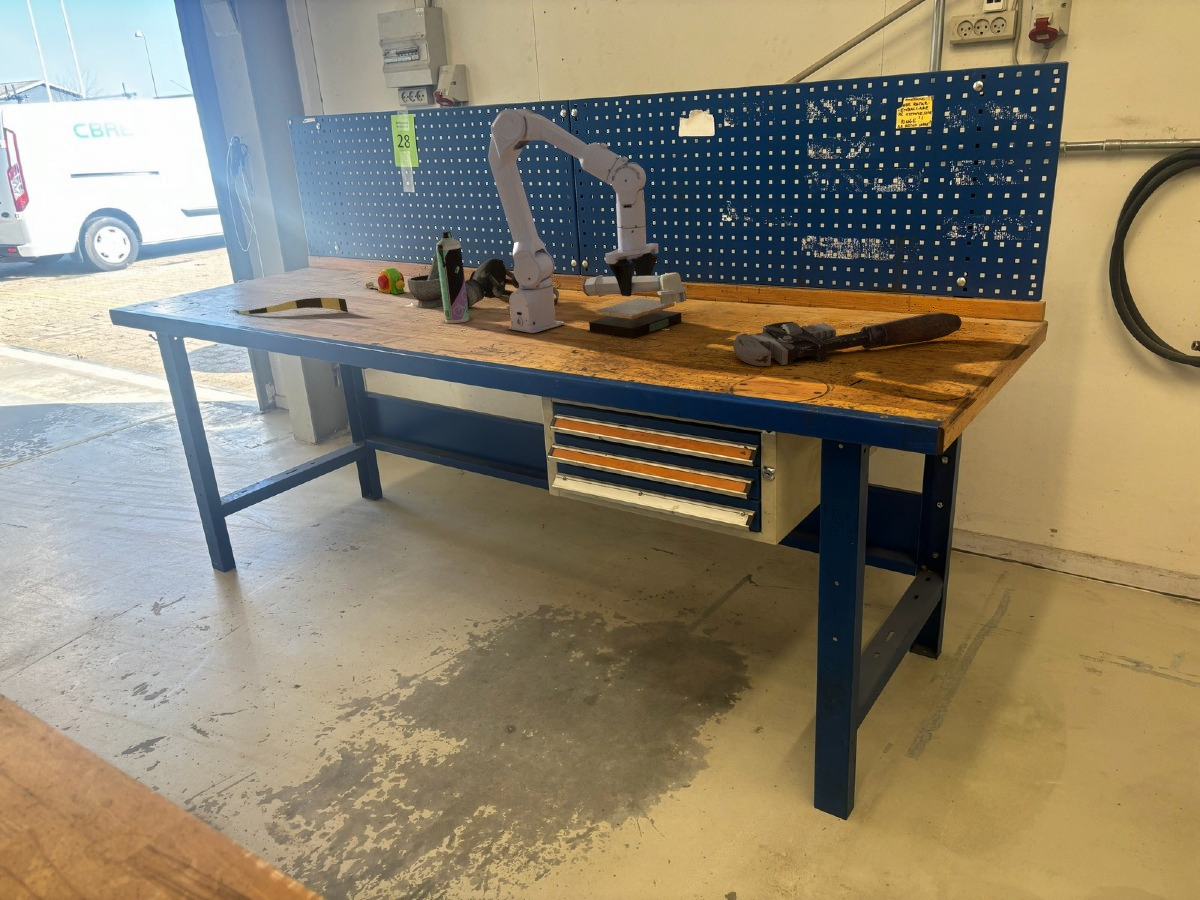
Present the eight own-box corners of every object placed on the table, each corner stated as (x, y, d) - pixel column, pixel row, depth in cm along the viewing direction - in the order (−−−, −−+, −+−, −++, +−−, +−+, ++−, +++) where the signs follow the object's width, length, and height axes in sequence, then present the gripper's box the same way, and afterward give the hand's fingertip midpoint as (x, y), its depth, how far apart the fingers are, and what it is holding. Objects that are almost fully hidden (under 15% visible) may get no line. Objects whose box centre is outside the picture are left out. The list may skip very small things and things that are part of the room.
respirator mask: (481, 282, 224) (509, 237, 216) (543, 335, 223) (573, 291, 215) (442, 297, 206) (471, 249, 199) (508, 355, 205) (540, 308, 198)
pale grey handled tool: (594, 275, 186) (689, 265, 169) (599, 305, 187) (693, 298, 171) (578, 279, 182) (674, 269, 166) (584, 310, 184) (678, 303, 168)
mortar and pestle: (431, 310, 208) (424, 260, 204) (403, 308, 213) (396, 259, 209) (461, 301, 217) (455, 253, 213) (433, 299, 222) (427, 252, 218)
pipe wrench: (752, 379, 145) (753, 351, 142) (721, 352, 156) (721, 326, 153) (967, 340, 154) (972, 314, 152) (924, 318, 165) (927, 293, 163)
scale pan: (632, 323, 171) (631, 315, 170) (595, 318, 177) (595, 310, 176) (674, 309, 180) (674, 302, 180) (638, 305, 186) (638, 298, 186)
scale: (635, 338, 170) (634, 328, 169) (589, 331, 178) (588, 322, 177) (683, 322, 181) (682, 312, 180) (638, 316, 189) (637, 307, 188)
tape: (335, 318, 208) (332, 303, 206) (214, 315, 221) (211, 300, 219) (350, 312, 213) (347, 297, 211) (231, 309, 226) (228, 295, 224)
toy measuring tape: (393, 296, 229) (389, 271, 227) (359, 289, 243) (355, 266, 240) (414, 292, 233) (410, 268, 230) (379, 285, 246) (375, 262, 244)
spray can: (464, 323, 193) (453, 232, 185) (441, 323, 194) (430, 233, 186) (472, 317, 198) (462, 229, 190) (450, 318, 199) (439, 230, 191)
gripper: (623, 232, 165) (626, 301, 169) (669, 222, 174) (671, 288, 179) (596, 230, 169) (600, 298, 174) (642, 221, 179) (645, 286, 184)
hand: (634, 293), depth 177 cm, fingers closed on pale grey handled tool, 5 cm apart
